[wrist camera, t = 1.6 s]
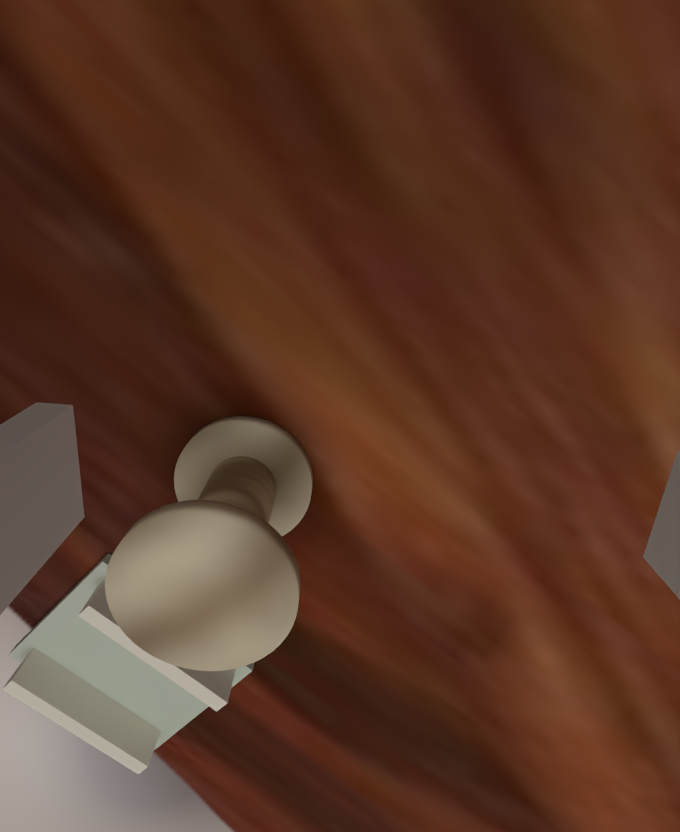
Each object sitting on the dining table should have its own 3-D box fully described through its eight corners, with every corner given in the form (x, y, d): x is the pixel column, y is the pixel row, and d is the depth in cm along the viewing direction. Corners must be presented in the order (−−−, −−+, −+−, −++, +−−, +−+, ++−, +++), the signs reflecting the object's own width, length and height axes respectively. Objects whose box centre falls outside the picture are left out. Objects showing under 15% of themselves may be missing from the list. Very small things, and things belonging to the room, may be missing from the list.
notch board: (16, 644, 42) (-17, 687, 38) (108, 552, 39) (83, 589, 35) (159, 738, 45) (142, 785, 41) (254, 660, 42) (245, 704, 38)
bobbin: (152, 478, 36) (66, 596, 25) (239, 388, 34) (188, 475, 23) (251, 557, 39) (213, 699, 27) (340, 478, 36) (338, 598, 25)
